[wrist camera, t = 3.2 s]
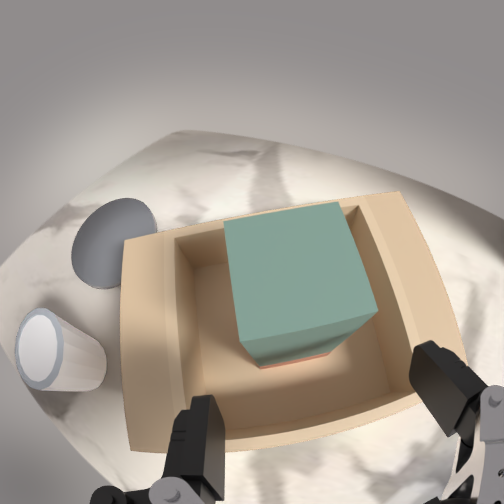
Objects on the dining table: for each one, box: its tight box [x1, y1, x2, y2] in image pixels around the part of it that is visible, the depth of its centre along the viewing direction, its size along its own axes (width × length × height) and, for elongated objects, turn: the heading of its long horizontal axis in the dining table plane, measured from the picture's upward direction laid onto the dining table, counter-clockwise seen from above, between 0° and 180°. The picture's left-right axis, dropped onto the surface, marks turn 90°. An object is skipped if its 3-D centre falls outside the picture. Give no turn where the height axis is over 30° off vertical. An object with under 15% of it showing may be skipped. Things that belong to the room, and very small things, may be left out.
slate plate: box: [71, 198, 157, 289], centre depth 27 cm, size 11×11×1 cm
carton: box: [120, 191, 468, 453], centre depth 19 cm, size 23×16×6 cm
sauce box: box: [223, 202, 378, 369], centre depth 15 cm, size 5×5×12 cm
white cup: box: [15, 308, 107, 391], centre depth 18 cm, size 7×7×7 cm
